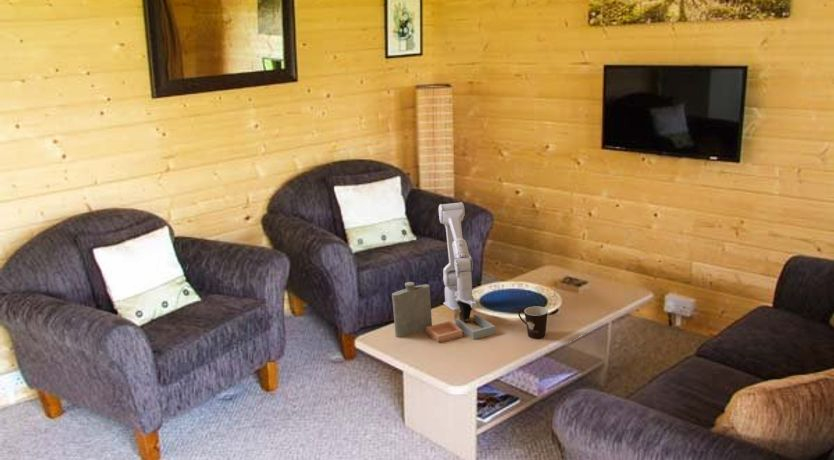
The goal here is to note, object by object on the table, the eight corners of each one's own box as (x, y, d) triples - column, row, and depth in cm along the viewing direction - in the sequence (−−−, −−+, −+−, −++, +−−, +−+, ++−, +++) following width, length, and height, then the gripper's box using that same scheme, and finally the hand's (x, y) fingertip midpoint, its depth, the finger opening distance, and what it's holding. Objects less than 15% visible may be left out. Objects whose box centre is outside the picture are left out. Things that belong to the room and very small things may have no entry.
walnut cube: (454, 319, 307) (453, 309, 305) (464, 317, 308) (463, 306, 307) (460, 323, 303) (459, 312, 301) (470, 320, 304) (469, 309, 303)
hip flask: (397, 338, 294) (393, 289, 288) (393, 334, 297) (388, 286, 291) (433, 327, 301) (430, 279, 295) (428, 324, 304) (425, 277, 298)
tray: (426, 332, 296) (426, 327, 296) (450, 326, 300) (450, 320, 300) (438, 342, 287) (437, 336, 287) (462, 336, 291) (462, 330, 291)
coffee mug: (552, 337, 285) (552, 312, 282) (532, 342, 282) (531, 317, 279) (536, 325, 296) (536, 301, 293) (517, 330, 293) (516, 306, 290)
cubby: (455, 325, 301) (455, 318, 300) (476, 320, 305) (476, 313, 304) (473, 339, 288) (473, 332, 287) (495, 333, 292) (494, 326, 291)
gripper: (447, 282, 303) (448, 314, 307) (464, 294, 290) (466, 327, 294) (462, 279, 305) (464, 310, 309) (480, 290, 293) (482, 323, 297)
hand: (466, 318), depth 302 cm, fingers closed
